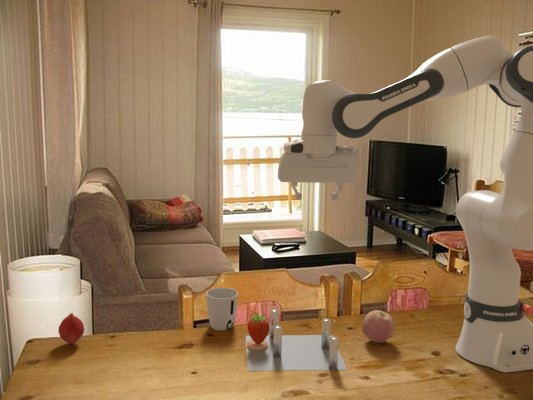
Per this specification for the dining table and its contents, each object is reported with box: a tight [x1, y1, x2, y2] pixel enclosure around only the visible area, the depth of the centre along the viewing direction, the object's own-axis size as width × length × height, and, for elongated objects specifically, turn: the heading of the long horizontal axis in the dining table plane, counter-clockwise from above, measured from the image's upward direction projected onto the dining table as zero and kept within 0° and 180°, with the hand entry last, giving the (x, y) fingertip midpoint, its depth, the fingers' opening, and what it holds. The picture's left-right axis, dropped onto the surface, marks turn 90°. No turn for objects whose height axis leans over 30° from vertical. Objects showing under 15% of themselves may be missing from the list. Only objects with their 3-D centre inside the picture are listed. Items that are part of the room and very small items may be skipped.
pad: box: [247, 340, 268, 351], centre depth 133 cm, size 5×5×1 cm
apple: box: [361, 309, 395, 344], centre depth 139 cm, size 8×8×8 cm
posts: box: [269, 308, 340, 371], centre depth 130 cm, size 14×18×7 cm
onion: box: [58, 312, 85, 345], centre depth 134 cm, size 6×6×8 cm
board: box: [245, 334, 348, 372], centre depth 131 cm, size 22×18×1 cm
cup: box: [205, 287, 239, 332], centre depth 144 cm, size 8×8×10 cm
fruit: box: [247, 311, 270, 344], centre depth 132 cm, size 5×5×8 cm
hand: (316, 199), depth 143 cm, fingers open, 8 cm apart
